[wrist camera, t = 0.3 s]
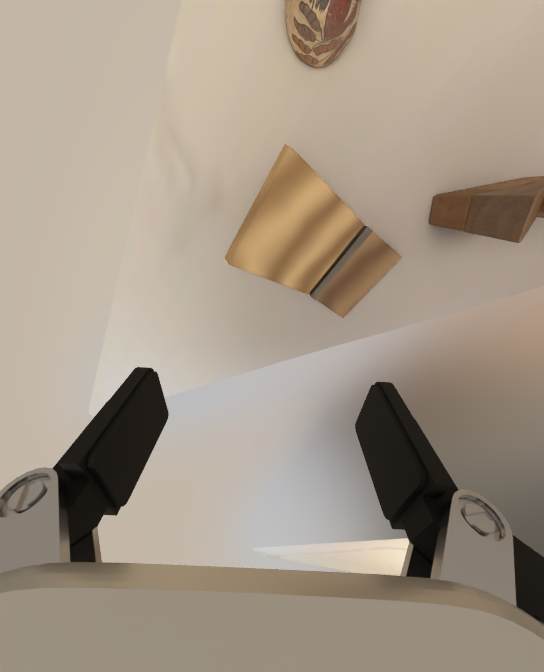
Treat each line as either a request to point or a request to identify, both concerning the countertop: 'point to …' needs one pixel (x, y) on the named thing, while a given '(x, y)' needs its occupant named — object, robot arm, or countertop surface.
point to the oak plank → (293, 227)
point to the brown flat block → (355, 272)
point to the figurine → (320, 28)
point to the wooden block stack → (492, 208)
